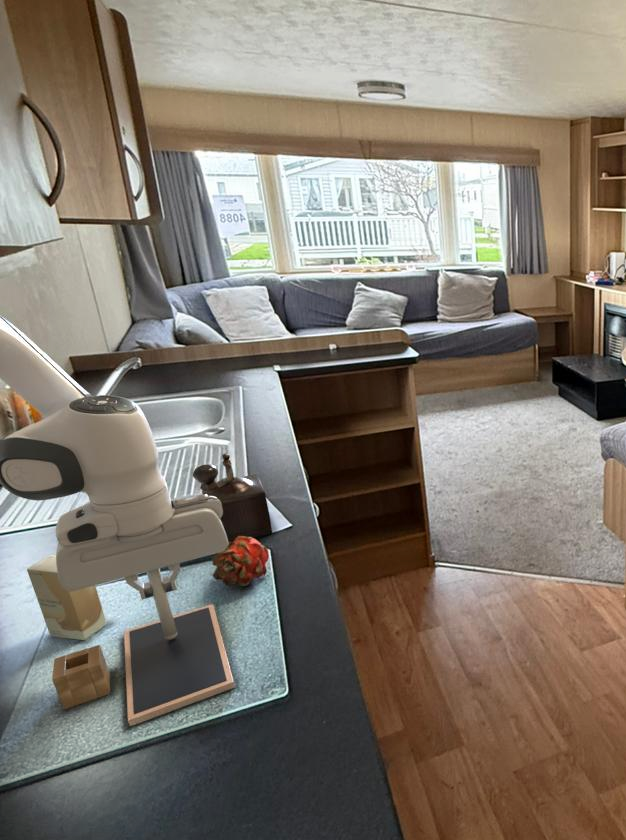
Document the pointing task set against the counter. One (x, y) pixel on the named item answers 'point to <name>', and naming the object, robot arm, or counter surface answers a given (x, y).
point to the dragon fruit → (241, 561)
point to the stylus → (162, 604)
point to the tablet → (174, 665)
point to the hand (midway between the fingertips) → (159, 593)
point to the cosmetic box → (65, 603)
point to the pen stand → (81, 676)
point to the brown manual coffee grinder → (237, 501)
